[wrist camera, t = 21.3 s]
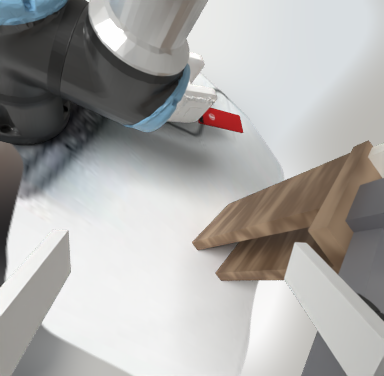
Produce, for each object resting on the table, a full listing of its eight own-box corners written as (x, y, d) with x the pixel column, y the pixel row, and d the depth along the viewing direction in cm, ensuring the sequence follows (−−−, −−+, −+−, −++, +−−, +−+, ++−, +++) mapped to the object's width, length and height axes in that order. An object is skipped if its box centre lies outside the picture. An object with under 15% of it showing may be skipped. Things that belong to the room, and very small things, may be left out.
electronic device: (238, 116, 70) (195, 104, 62) (239, 115, 70) (196, 103, 62) (242, 133, 68) (198, 123, 61) (243, 132, 68) (199, 122, 60)
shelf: (178, 255, 46) (327, 227, 22) (233, 199, 58) (368, 140, 34) (209, 295, 47) (387, 310, 22) (257, 232, 58) (407, 196, 34)
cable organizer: (184, 90, 62) (209, 56, 52) (194, 126, 59) (222, 97, 50) (127, 81, 53) (144, 38, 44) (136, 123, 51) (156, 87, 42)
